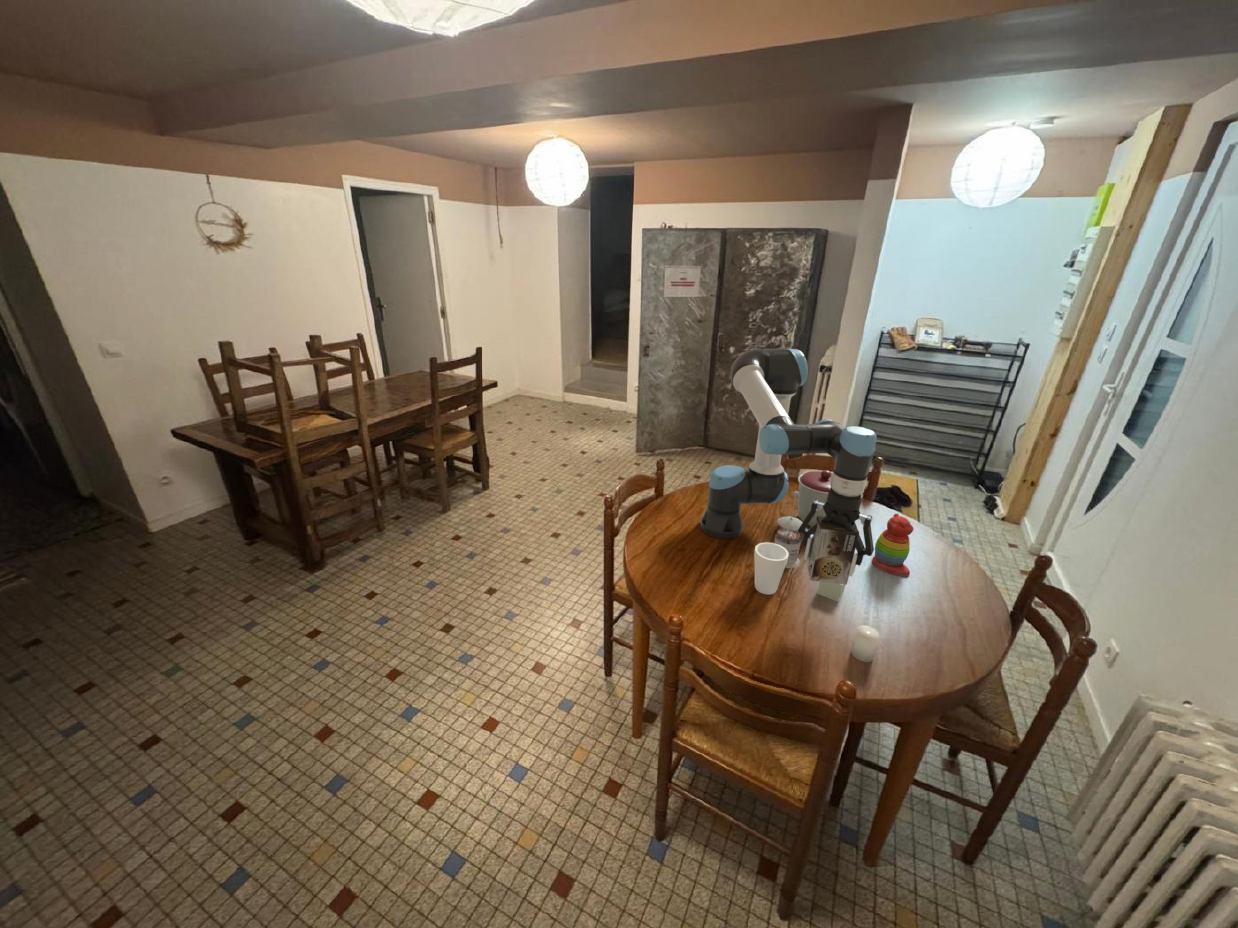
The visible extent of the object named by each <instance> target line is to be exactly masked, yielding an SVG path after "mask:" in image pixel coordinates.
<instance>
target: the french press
mask: <svg viewBox="0 0 1238 928" xmlns="http://www.w3.org/2000/svg"><path fill="white" fill-rule="evenodd" d="M792 495H793V496H794V501H793V506H792V512H791V516H782V517H778V519H777V524H778V525H779V527H780V528H779V529H778V530H776V534H775V536H774V542H773V543H775V544H778V545H781V546H782V547H784V548H785V549H786V550H787V551H788V553H789V555H788V561H787V564H786V566H785V568H786V569H792V568H796V567H798V566H799V565H800V564H801V563H800V559H799V558H798V557H799V552H800V547H801V542H802V540H801V533H799V532H798V529H799V527H800V526H801V524H802V523H803V522H802V521H801V519H800V518H797V517H793V515H794V508H795V503H796V498H797V497H798V496H799V490H798V491H797V490H796V491H793V492H792ZM788 541H789V543H788Z"/></svg>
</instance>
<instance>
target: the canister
mask: <svg viewBox="0 0 1238 928" xmlns="http://www.w3.org/2000/svg"><path fill="white" fill-rule="evenodd" d="M832 474H833V472H831V471H830V470H829V469H828V470H827V469H825V470H824V469H823V470H822V471H820V470H819V471H816V470H814V471H808V472H804V473H801V474H800V475H799V476H798V477H797V482H798V485H799V486H798V492H799V496H797V498H798V499H797V500H798V501H797V515H798V519H799V520H800V521H802V522H803V521H804V520H805V518H806V517H807V515H808V514H809V512H810V511H811V506H812V503H813V502H814V501H815V500H819V502H820V503H824V504H825V503H826V501H827V497H828V492H829V488H830V487H831V486H830V483H831V479H832ZM825 515H826V513H825V511H824V510H823V508H821V509H820V510H819V511H817V512H816V513H815V515H814V516H813V518H812V519H811V521H810V522H809V523H808V525H807V526H808V527H812V526H813V525H814V524H816V520H817V516H820V517H824V516H825Z"/></svg>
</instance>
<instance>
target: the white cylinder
mask: <svg viewBox="0 0 1238 928" xmlns="http://www.w3.org/2000/svg"><path fill="white" fill-rule="evenodd" d="M880 637H881V636H880V632H879V631H878V630H876V629H875V628H874V627H872V626H869V625H863V624H862V625H859V626H857V628H856V632H855V636H854V640H853V642H852V645H851V650H850V653H851V654H852V656H853V657H854V658H855V659H856V660H858V661H860V662H863V663H870V662H872V661H873V660H874V657H875V654H876V650H877V647H878V643H879V640H880Z"/></svg>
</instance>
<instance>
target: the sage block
mask: <svg viewBox="0 0 1238 928" xmlns="http://www.w3.org/2000/svg"><path fill="white" fill-rule="evenodd" d="M845 588H846V585H844V584H836V583H828V582H819V584H818V588H817V592H816V593H817V594H818V596H819V595H820V596H822V597H825V598H827V599H830V600H833V601H835V602H838V603H839V602H840V599H841V598H842V596H843V594H844V591H845Z"/></svg>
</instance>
